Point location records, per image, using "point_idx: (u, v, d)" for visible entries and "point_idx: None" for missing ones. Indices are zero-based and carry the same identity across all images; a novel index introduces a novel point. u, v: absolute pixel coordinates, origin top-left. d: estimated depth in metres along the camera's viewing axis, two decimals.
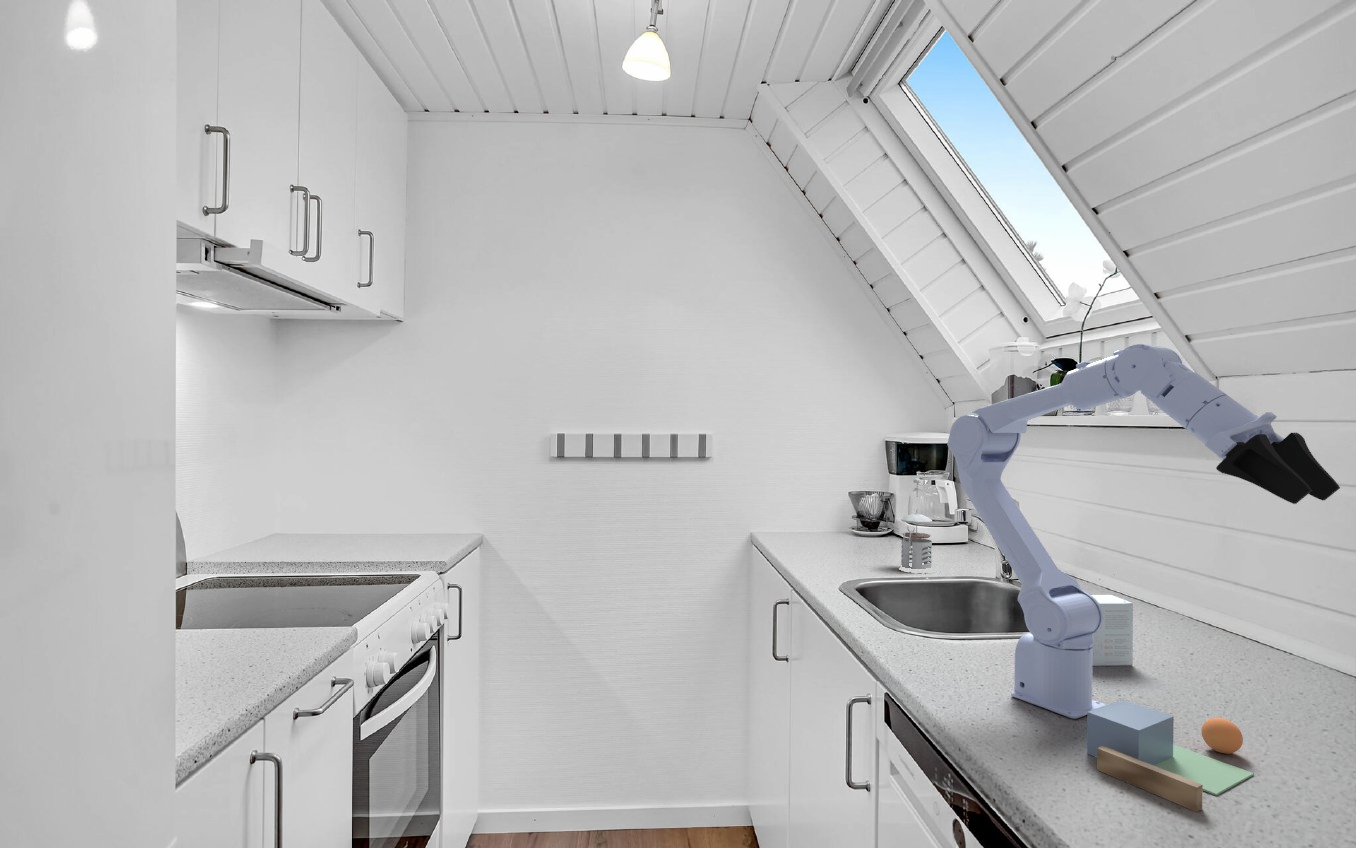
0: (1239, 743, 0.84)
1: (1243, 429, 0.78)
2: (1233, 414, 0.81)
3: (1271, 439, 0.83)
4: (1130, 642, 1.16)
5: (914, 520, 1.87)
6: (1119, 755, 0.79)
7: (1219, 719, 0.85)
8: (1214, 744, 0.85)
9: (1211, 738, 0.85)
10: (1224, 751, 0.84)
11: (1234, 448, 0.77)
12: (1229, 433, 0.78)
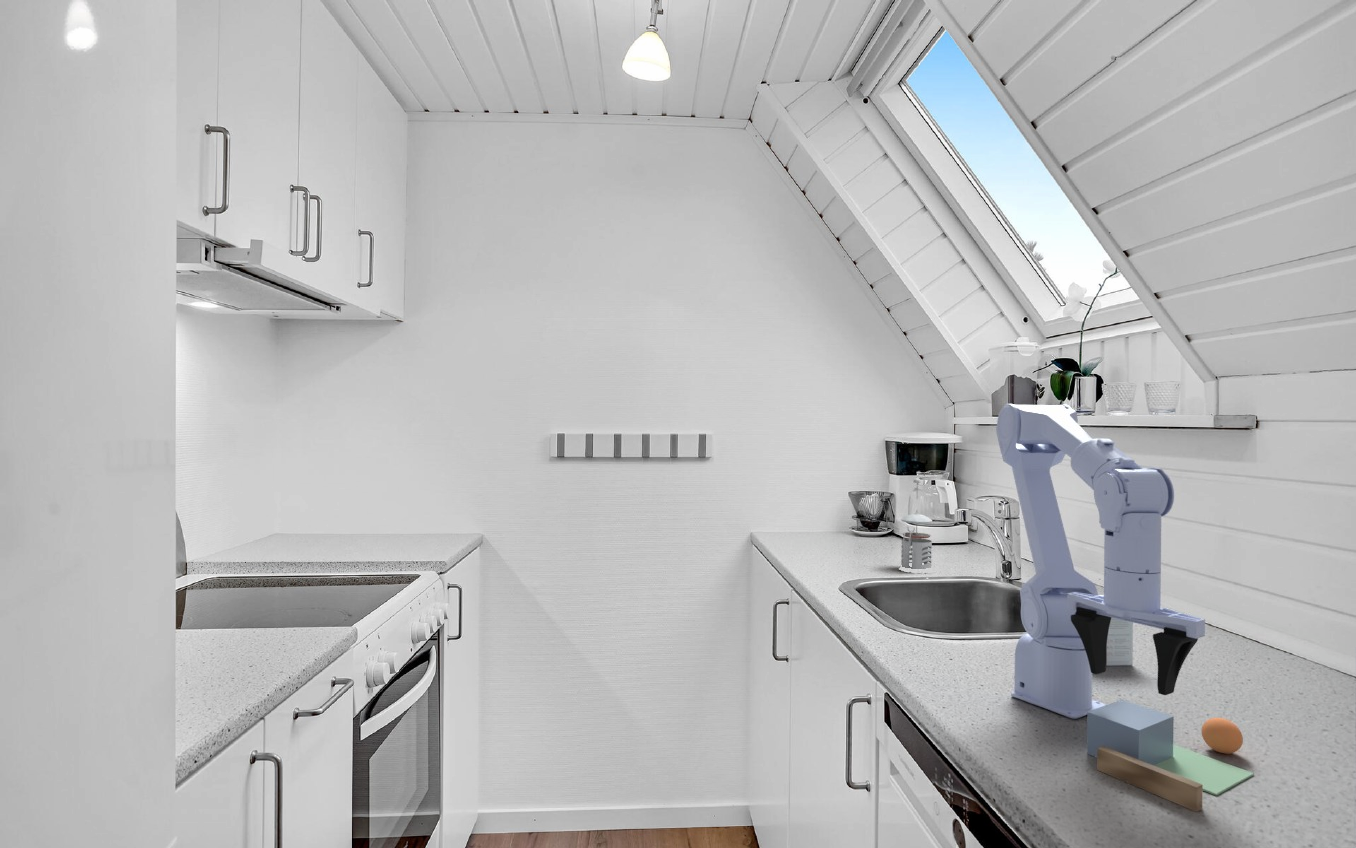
0: (1239, 743, 0.84)
1: (1091, 605, 0.86)
2: (1105, 589, 0.85)
3: None
4: (1130, 642, 1.16)
5: (914, 520, 1.87)
6: (1119, 755, 0.79)
7: (1219, 719, 0.85)
8: (1214, 744, 0.85)
9: (1211, 738, 0.85)
10: (1224, 751, 0.84)
11: None
12: (1078, 600, 0.89)
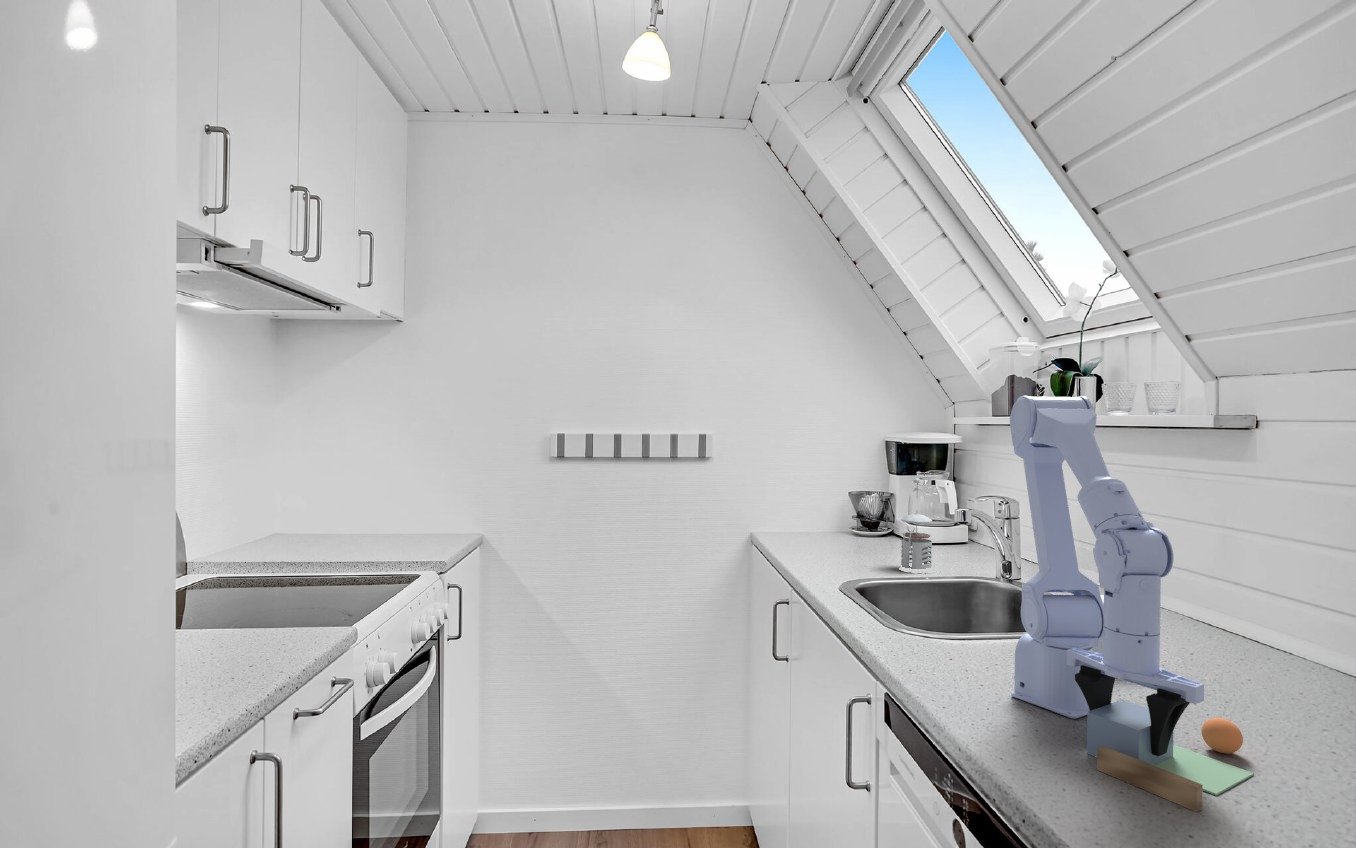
0: (1239, 743, 0.84)
1: (1090, 663, 0.86)
2: (1104, 649, 0.85)
3: None
4: None
5: (914, 520, 1.87)
6: (1119, 755, 0.79)
7: (1219, 719, 0.85)
8: (1214, 744, 0.85)
9: (1211, 738, 0.85)
10: (1224, 751, 0.84)
11: None
12: (1077, 657, 0.89)
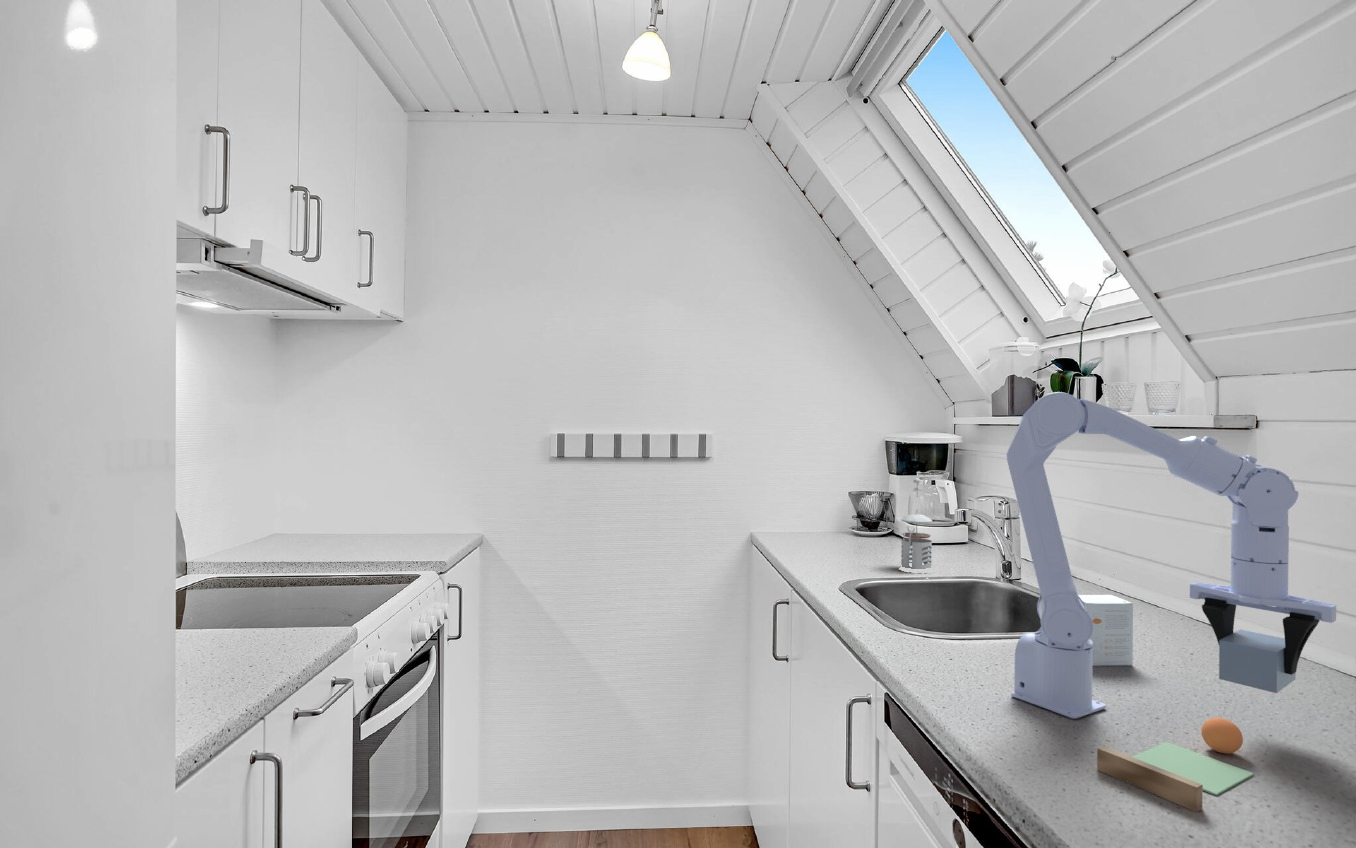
0: (1239, 743, 0.84)
1: (1218, 594, 0.92)
2: (1234, 579, 0.91)
3: None
4: (1130, 642, 1.16)
5: (914, 520, 1.87)
6: (1119, 755, 0.79)
7: (1219, 719, 0.85)
8: (1214, 744, 0.85)
9: (1211, 738, 0.85)
10: (1224, 751, 0.84)
11: None
12: (1202, 589, 0.94)
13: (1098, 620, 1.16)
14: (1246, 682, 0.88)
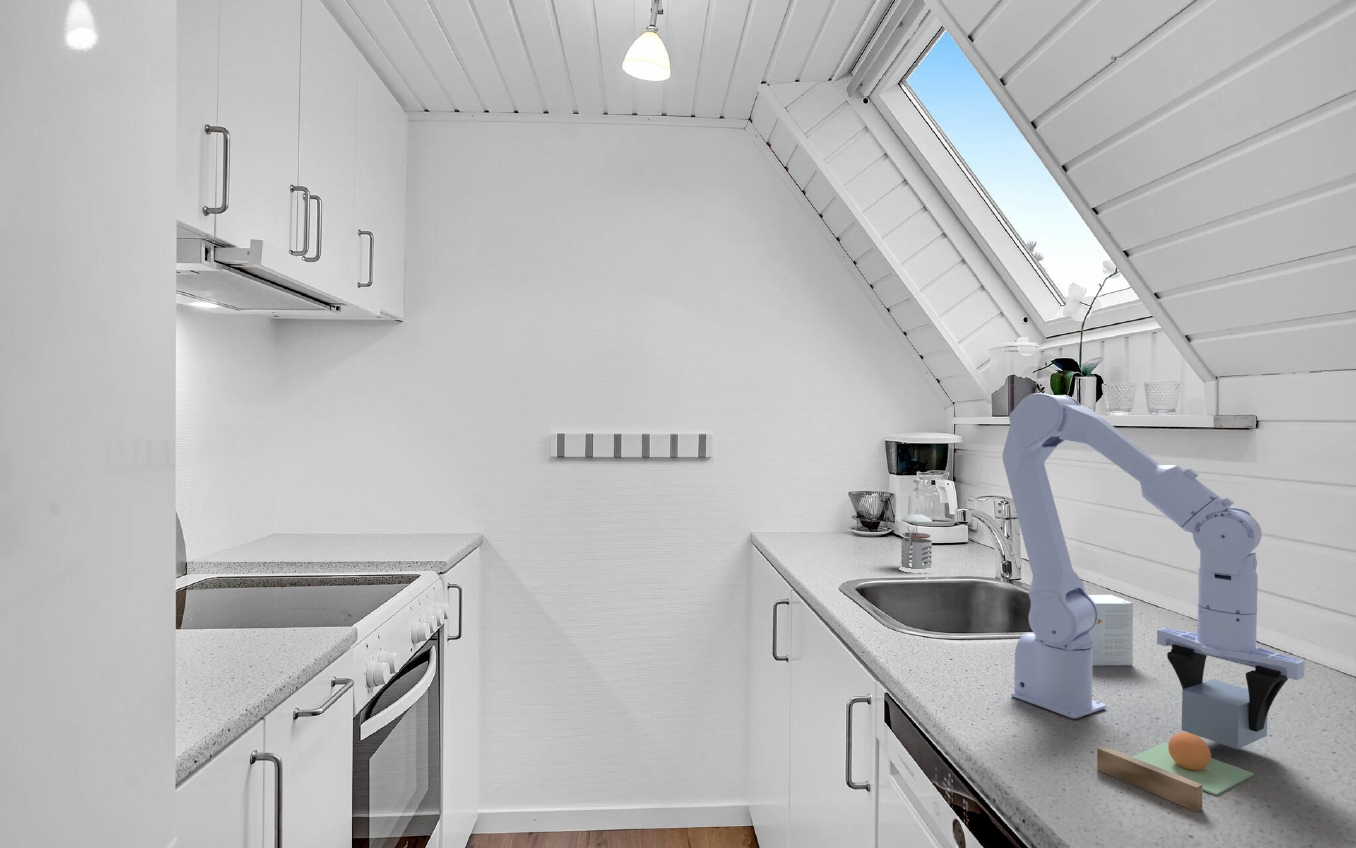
0: (1209, 754, 0.80)
1: (1184, 642, 0.88)
2: (1199, 627, 0.87)
3: None
4: (1130, 642, 1.16)
5: (914, 520, 1.87)
6: (1119, 755, 0.79)
7: None
8: (1191, 734, 0.82)
9: None
10: (1195, 739, 0.80)
11: None
12: (1168, 636, 0.90)
13: (1098, 620, 1.16)
14: (1208, 735, 0.84)
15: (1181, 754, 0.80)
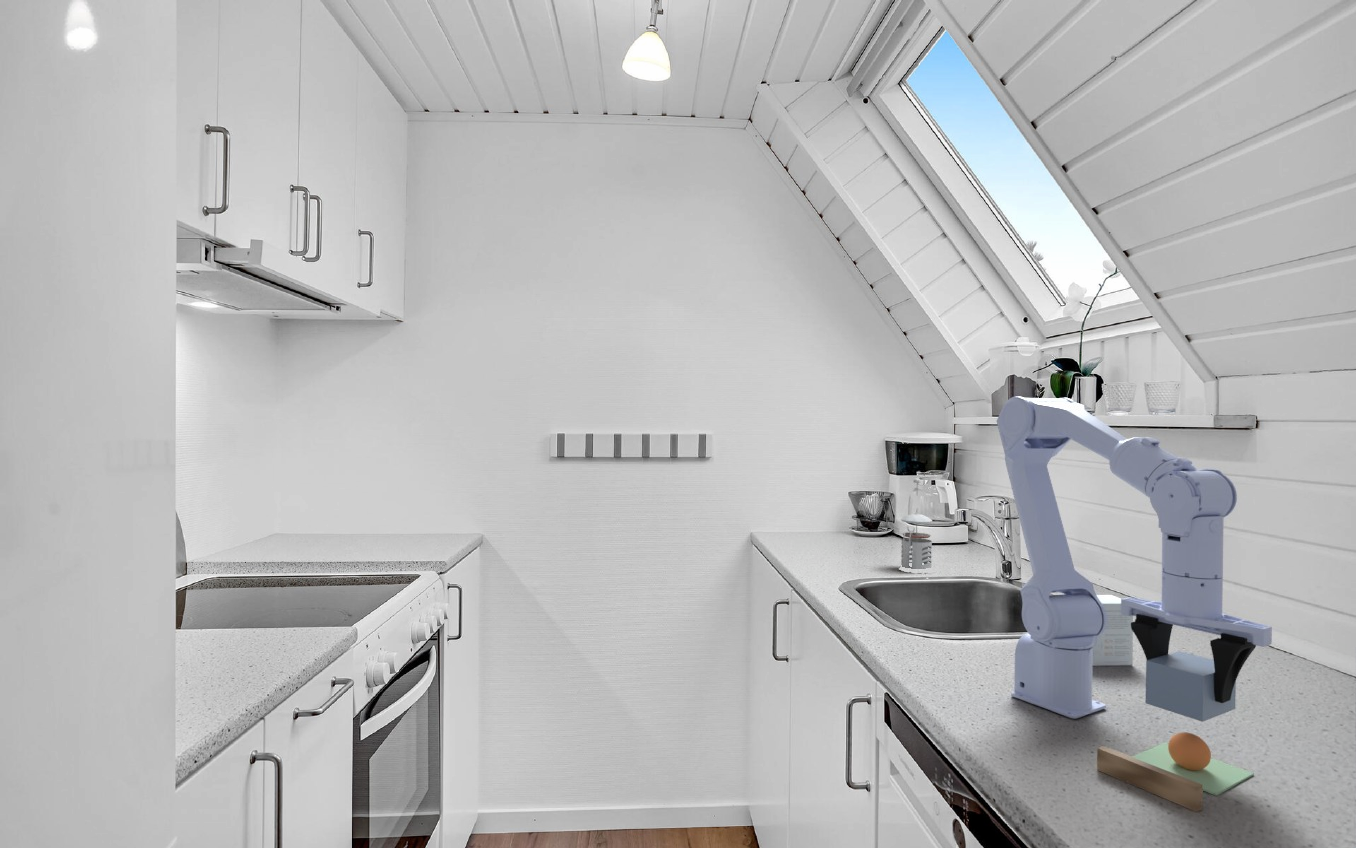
0: (1209, 754, 0.80)
1: (1148, 611, 0.84)
2: (1163, 594, 0.82)
3: None
4: (1130, 642, 1.16)
5: (914, 520, 1.87)
6: (1119, 755, 0.79)
7: None
8: (1191, 734, 0.82)
9: None
10: (1195, 739, 0.80)
11: None
12: (1132, 605, 0.86)
13: None
14: (1172, 708, 0.80)
15: (1181, 754, 0.80)
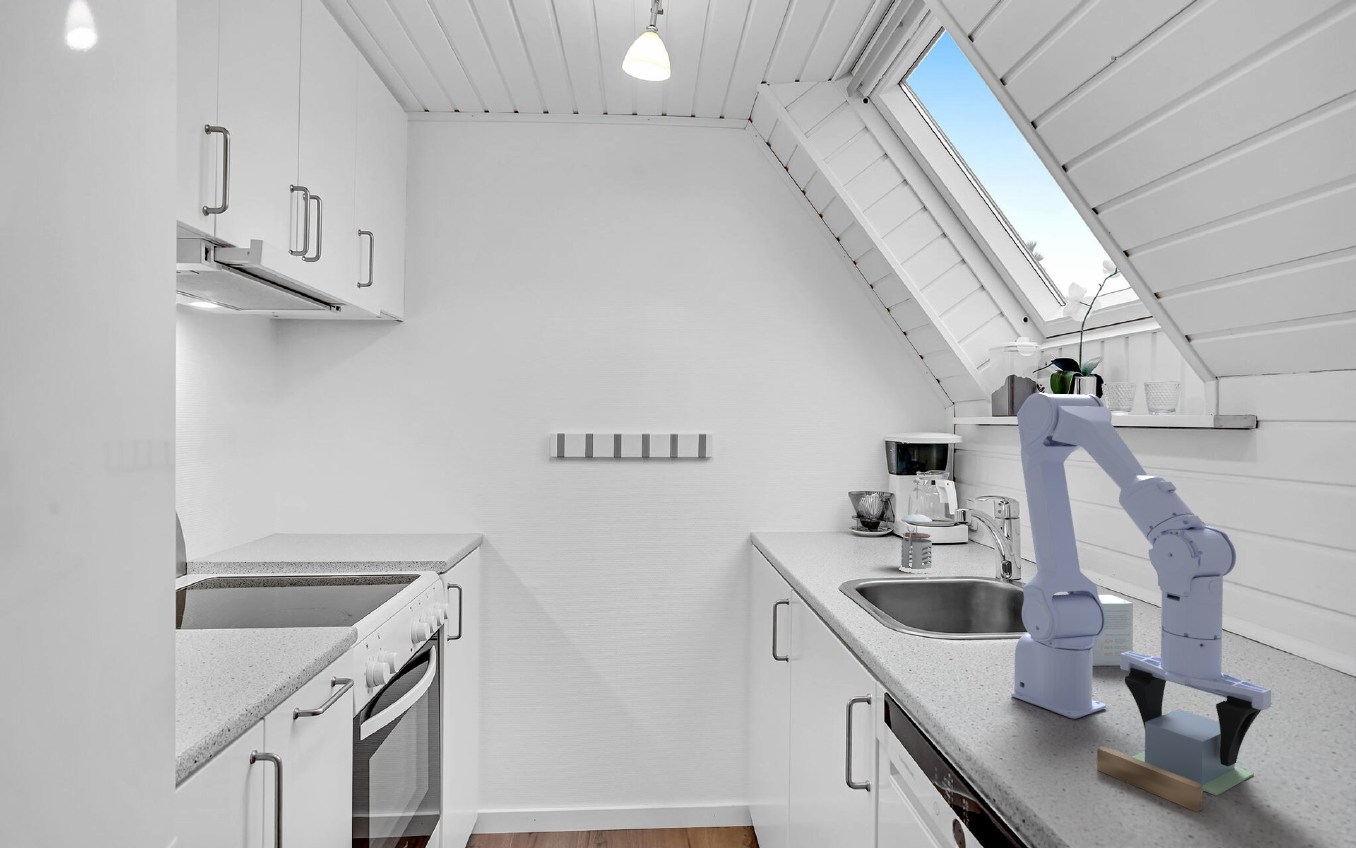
0: None
1: (1147, 668, 0.84)
2: (1162, 652, 0.82)
3: None
4: (1130, 642, 1.16)
5: (914, 520, 1.87)
6: (1119, 755, 0.79)
7: None
8: None
9: None
10: None
11: None
12: (1132, 661, 0.86)
13: None
14: (1171, 771, 0.80)
15: None
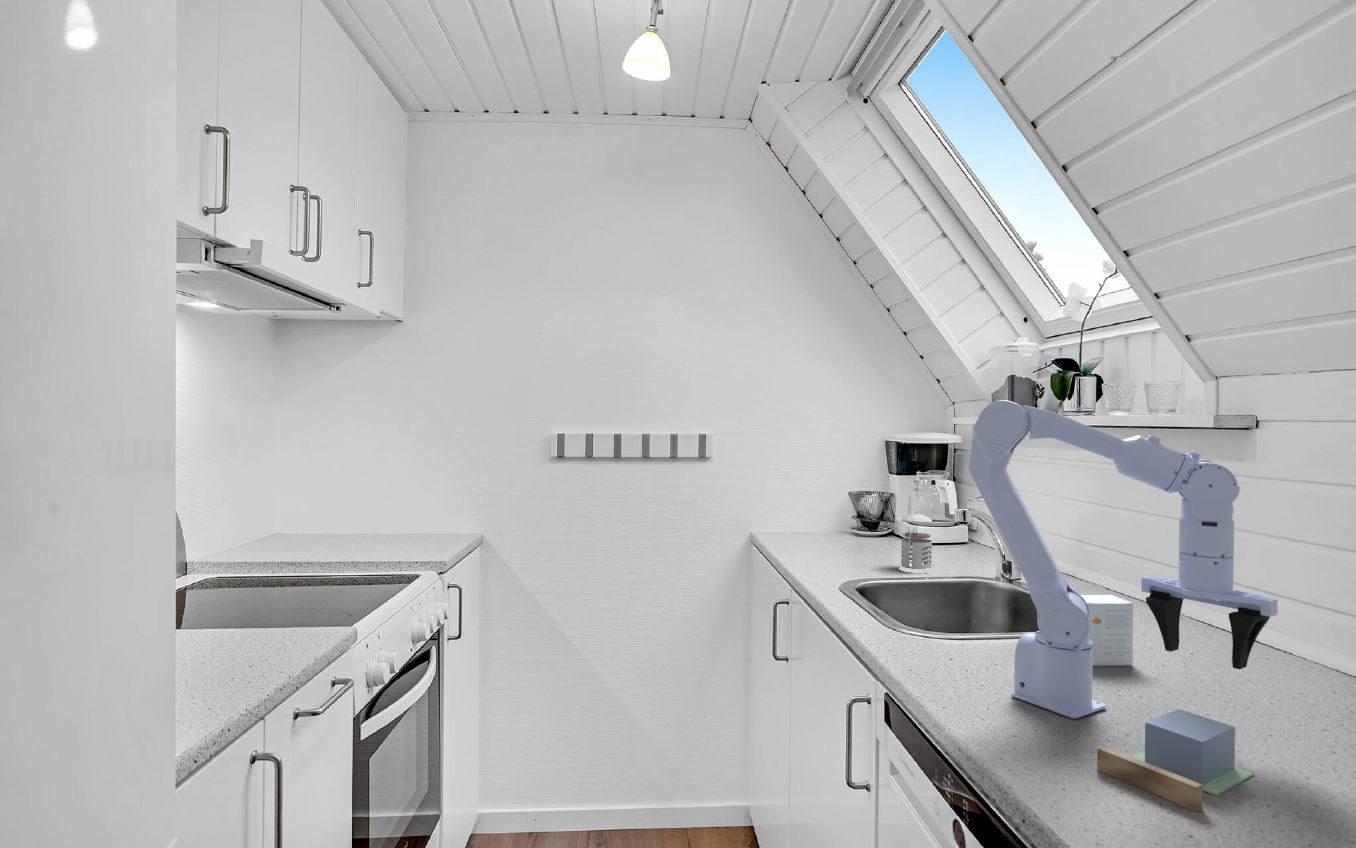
0: None
1: (1166, 587, 0.94)
2: (1180, 572, 0.92)
3: None
4: (1130, 642, 1.16)
5: (914, 520, 1.87)
6: (1119, 755, 0.79)
7: None
8: None
9: None
10: None
11: None
12: (1152, 583, 0.96)
13: (1098, 620, 1.16)
14: (1171, 771, 0.80)
15: None
